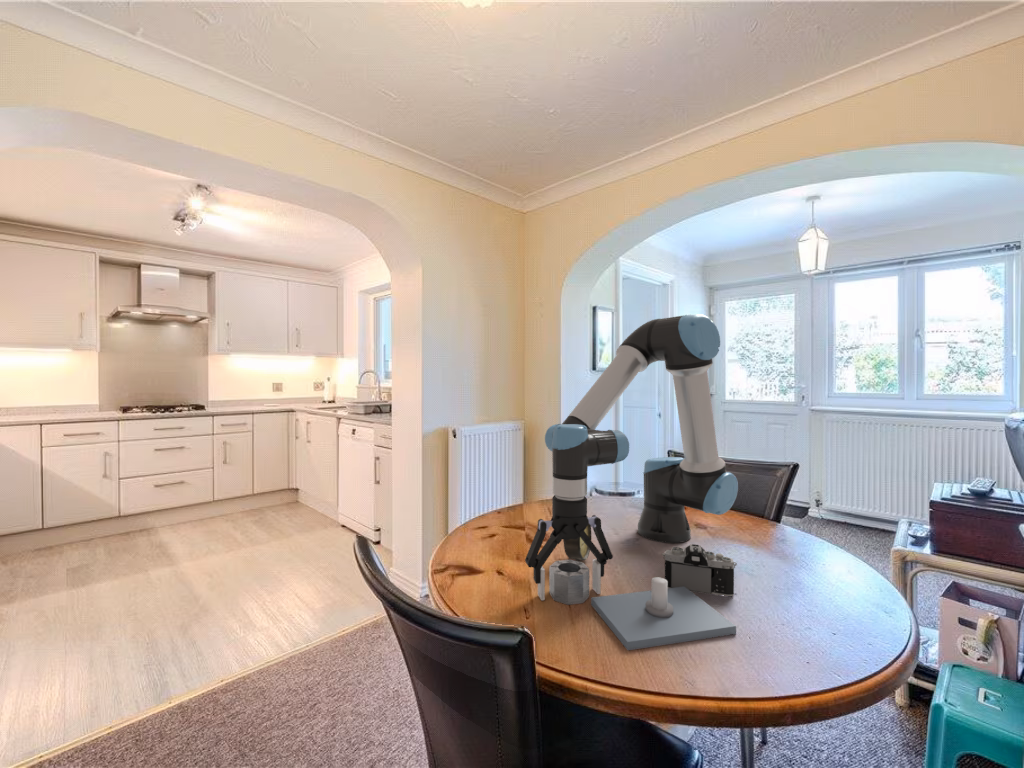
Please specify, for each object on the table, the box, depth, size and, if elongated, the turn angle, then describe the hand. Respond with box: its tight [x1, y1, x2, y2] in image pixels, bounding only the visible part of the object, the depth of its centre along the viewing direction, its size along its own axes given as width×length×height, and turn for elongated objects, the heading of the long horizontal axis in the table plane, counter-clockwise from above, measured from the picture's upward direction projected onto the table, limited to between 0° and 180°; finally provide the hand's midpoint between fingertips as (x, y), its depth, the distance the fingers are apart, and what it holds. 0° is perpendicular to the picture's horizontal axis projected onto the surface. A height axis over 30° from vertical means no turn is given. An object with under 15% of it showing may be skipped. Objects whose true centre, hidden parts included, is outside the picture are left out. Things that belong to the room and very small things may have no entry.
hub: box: [548, 559, 590, 606], centre depth 98 cm, size 8×8×6 cm
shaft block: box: [590, 576, 737, 651], centre depth 88 cm, size 22×16×8 cm
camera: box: [661, 543, 737, 597], centre depth 102 cm, size 16×9×10 cm, turn 69°
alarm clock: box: [562, 516, 592, 562], centre depth 115 cm, size 11×5×16 cm, turn 155°
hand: (569, 594), depth 98 cm, fingers open, 12 cm apart
